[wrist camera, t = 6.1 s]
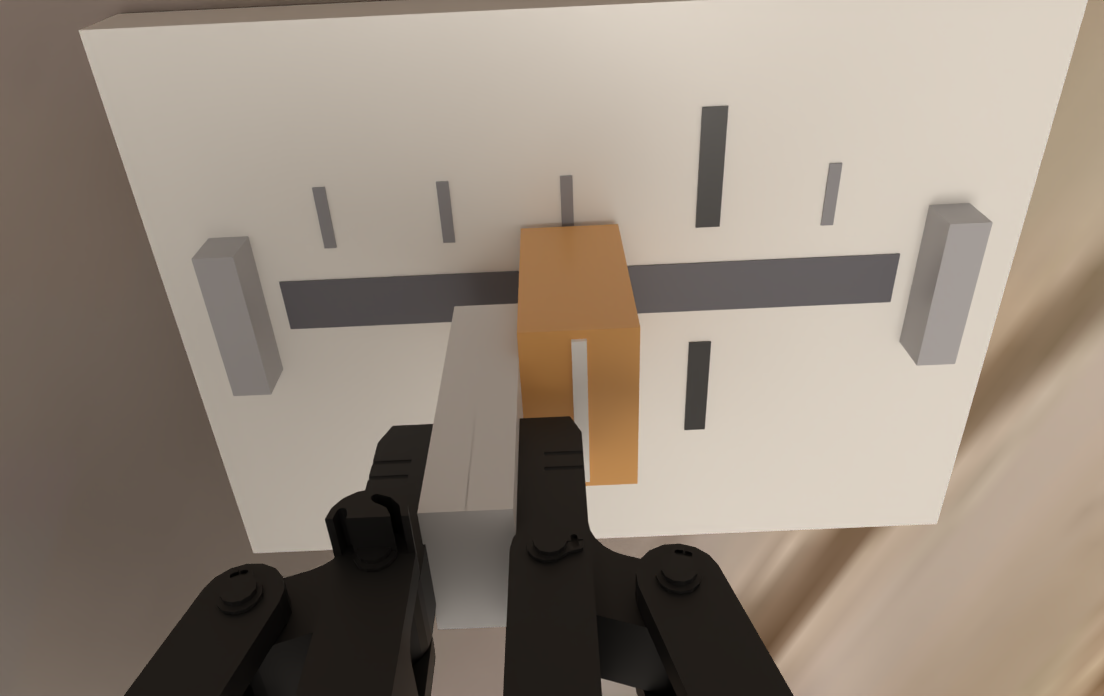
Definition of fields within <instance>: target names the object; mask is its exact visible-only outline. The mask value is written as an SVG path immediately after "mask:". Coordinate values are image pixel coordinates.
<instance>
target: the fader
mask: <svg viewBox="0 0 1104 696" xmlns="http://www.w3.org/2000/svg"><path fill="white" fill-rule="evenodd" d="M517 343H518V356H519V369H520V382H521V394H522V407H523V418H540V417H562V416H570V417H571V418H572V420H573V421H574V422H575V424H576V425H577V426H578V428H579V429H580V430H581V432H582V443H583V457H584V470H585V484H586V486H597V485H620V484H638V432H639V378H640V323H639V318H638V314H637V309H636V305H635V300H634V295H633V291H632V286H631V281H630V277H629V272H628V268H627V263H626V258H625V254H624V249H623V244H622V240H621V235H620V231H619V226H618V224H609V225H588V226H566V227H544V228H523V229H521V235H520V262H519V288H518V314H517Z"/></svg>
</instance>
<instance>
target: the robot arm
mask: <svg viewBox="0 0 1104 696" xmlns="http://www.w3.org/2000/svg"><path fill="white" fill-rule="evenodd" d="M517 314H518V303H517V304H495V305H473V306H454V312H453V317H452V323H451V328H450V334H449V340H448V345H447V351H446V356H445V362H444V367H443V373H442V378H441V384H440V390H439V395H438V401H437V406H436V412H435V417H434V423H433V424H419V425H396V426H392V427H391V428H390V429H389V430H388V432H387V433H386V434H385V435H384V436H383V437H382V438H381V440H380V441H379V442H378V444H377V447H376V451H375V455H374V459H373V465H372V466H371V470H370V474H369V480H368V481H367V485H366V489H365V490H364V491H358V492H356V493H354V494H351V495H349V496H347V497H345V498H343V499H341V500H340V501H339V502H338V503H337V504H335V505H334V506H333V507H332V508H331V509H330V511H329V513H328V514H327V516H326V518H325V522H326V526H327V530H328V534H329V537H330V541H331V545H332V549H333V553H334V556H335V557H334V559H333V560H331V561H330V562H328V563H326V564H324V565H323V566H320V567H318V568H315V569H313V570H310V571H307V572H303V573H300V574H297V575H293V576H290V577H286V578H283V576H282V575H281V574H280V573H279V572H278V571H277V570H276V569H275V568H273V567H270V566H268V565H265V564H245V565H241V566H238V567H235V568H231V569H229V570H227V571H226V572H224V573H222V574H220V575H219V576H217V577H215V578H214V579H213V580H212V581H211V582H210V583H209V584H208V585H207V586H206V587H205V588H204V589H203V590H202V592H201V593H200V594H199V596H198V597H197V598H196V600H195V601H194V602H193V604H192V605H191V606H190V608H189V609H188V610H187V612H186V613H185V614H184V616H183V617H182V618H181V620H180V621H179V622H178V624H177V625H176V626H175V628H174V629H173V630H172V632H171V633H170V634H169V636H168V637H167V638H166V640H165V641H164V642H163V644H162V645H161V647H160V648H159V649H158V651H157V652H156V653H155V655H154V656H153V657H152V659H151V660H150V661H149V663H148V664H147V665H146V667H145V668H144V669H143V671H142V672H141V673H140V675H139V676H138V677H137V679H136V680H135V681H134V683H133V684H132V685H131V687H130V688H129V689H128V691H127V692H126V693H125V695H124V696H431V690H432V681H433V673H434V665H435V649H434V642H433V637H432V633H433V625H434V618H435V615H436V620H437V626H438V630H439V629H463V628H488V627H506V644H505V667H504V690H503V696H602V687H601V678H602V679H605V680H609V681H613V682H616V683H620V684H624V685H627V686H631V687H635V688H636V693H637V696H793V694H792V692H791V690H790V689H789V687H788V685H787V683H786V682H785V680H784V678H783V676H782V675H781V673H780V671H779V670H778V668H777V666H776V664H775V663H774V661H773V659H772V657H771V656H770V654H769V652H768V650H767V649H766V647H765V645H764V643H763V642H762V640H761V638H760V637H759V635H758V633H757V631H756V630H755V628H754V626H753V624H752V623H751V621H750V619H749V617H748V616H747V614H746V612H745V611H744V609H743V607H742V605H741V604H740V602H739V600H738V598H737V597H736V595H735V593H734V591H733V590H732V588H731V586H730V584H729V583H728V581H727V579H726V578H725V576H724V574H723V572H722V571H721V569H720V567H719V566H718V564H717V563H716V562H715V561H714V560H713V559H712V558H711V556H710V555H708V554H707V553H705V552H703V551H701V550H699V549H698V548H696V547H692V546H688V545H683V544H668V545H662V546H659V547H657V548H654V549H652V550H649V551H648V552H647V553H646V554H645V555H644V556H643V557H642V558H641V559H639V558H635V557H630V556H626V555H623V554H619V553H616V552H613V551H612V550H610V549H608V548H606V547H605V546H603V545H602V544H601V543H600V542H599V541H598V540H597V539H595V537H594V535H593V534H592V532H591V530H590V527H589V523H588V511H587V497H586V484H585V470H584V457H583V443H582V432H581V430H580V429H579V428H578V426H577V425H576V424H575V422H574V421H573V420H572V418H571V417H570V416H562V417H540V418H523V407H522V394H521V382H520V369H519V356H518V343H517Z"/></svg>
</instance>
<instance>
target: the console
mask: <svg viewBox="0 0 1104 696" xmlns="http://www.w3.org/2000/svg"><path fill="white" fill-rule="evenodd" d="M1087 1H1088V0H393V1H373V2H352V3H331V4H311V5H290V6H269V7H249V8H228V9H207V10H187V11H166V12H145V13H124V14H117V15H114V16H112V17H110V18H107V19H105V20H102V21H100V22H97V23H95V24H93V25H90V26H88V27H85V28H83V29H80V30H79V33H80V36H81V39H82V42H83V45H84V48H85V51H86V54H87V57H88V60H89V63H90V66H91V69H92V72H93V75H94V78H95V81H96V84H97V87H98V90H99V93H100V96H101V99H102V102H103V105H104V108H105V111H106V114H107V117H108V120H109V123H110V126H111V129H112V132H113V135H114V138H115V141H116V144H117V147H118V150H119V153H120V156H121V159H122V162H123V165H124V168H125V171H126V174H127V177H128V180H129V183H130V186H131V189H132V192H133V195H134V198H135V201H136V204H137V207H138V210H139V213H140V216H141V219H142V222H143V225H144V228H145V230H146V233H147V236H148V239H149V242H150V245H151V248H152V251H153V254H154V257H155V260H156V263H157V266H158V269H159V272H160V275H161V278H162V281H163V284H164V287H165V290H166V293H167V296H168V299H169V302H170V305H171V308H172V311H173V314H174V317H175V320H176V323H177V326H178V329H179V332H180V335H181V338H182V341H183V344H184V347H185V350H186V353H187V356H188V359H189V362H190V365H191V368H192V371H193V374H194V377H195V380H196V383H197V386H198V389H199V392H200V395H201V398H202V401H203V404H204V407H205V410H206V413H207V416H208V419H209V422H210V425H211V428H212V431H213V434H214V437H215V440H216V443H217V446H218V449H219V452H220V455H221V458H222V460H223V463H224V466H225V469H226V472H227V475H228V478H229V481H230V484H231V487H232V490H233V493H234V496H235V499H236V502H237V505H238V508H239V511H240V514H241V517H242V520H243V523H244V526H245V529H246V532H247V535H248V538H249V541H250V544H251V547H252V550H253V553H273V552H296V551H319V550H333V549H332V545H331V541H330V537H329V534H328V530H327V526H326V522H325V518H326V516H327V514H328V513H329V511H330V509H331V508H332V507H333V506H334V505H335V504H337V503H338V502H339V501H340V500H341V499H343V498H345V497H347V496H349V495H351V494H354V493H356V492H358V491H364V490H365V489H366V485H367V481H368V480H369V474H370V470H371V466H372V465H373V459H374V455H375V451H376V447H377V444H378V442H379V441H380V440H381V438H382V437H383V436H384V435H385V434H386V433H387V432H388V430H389V429H390V428H391V427H392V426H396V425H419V424H433V423H434V417H435V412H436V406H437V401H438V395H439V390H440V384H441V378H442V373H443V367H444V362H445V356H446V351H447V345H448V340H449V334H450V328H451V323H452V317H453V312H454V306H473V305H495V304H517V303H518V288H519V262H520V235H521V229H523V228H544V227H566V226H588V225H609V224H618V226H619V231H620V235H621V240H622V244H623V249H624V254H625V258H626V263H627V268H628V272H629V277H630V281H631V286H632V291H633V295H634V300H635V305H636V309H637V314H638V318H639V323H640V378H639V432H638V484H620V485H597V486H586V497H587V511H588V523H589V527H590V530H591V532H592V534H593V535H594V537H595V539H598V538H621V537H644V536H667V535H691V534H714V533H737V532H760V531H783V530H807V529H830V528H853V527H876V526H899V525H923V524H937V522H938V518H939V515H940V511H941V508H942V504H943V501H944V497H945V494H946V490H947V487H948V483H949V480H950V477H951V473H952V470H953V466H954V463H955V459H956V456H957V452H958V449H959V445H960V442H961V438H962V435H963V431H964V428H965V425H966V421H967V418H968V414H969V411H970V407H971V404H972V400H973V397H974V393H975V390H976V386H977V383H978V379H979V376H980V372H981V369H982V366H983V362H984V359H985V355H986V352H987V348H988V345H989V341H990V338H991V334H992V331H993V327H994V324H995V320H996V317H997V314H998V310H999V307H1000V303H1001V300H1002V296H1003V293H1004V289H1005V286H1006V282H1007V279H1008V275H1009V272H1010V268H1011V265H1012V262H1013V258H1014V255H1015V251H1016V248H1017V244H1018V241H1019V237H1020V234H1021V230H1022V227H1023V223H1024V220H1025V216H1026V213H1027V209H1028V206H1029V203H1030V199H1031V196H1032V192H1033V189H1034V185H1035V182H1036V178H1037V175H1038V171H1039V168H1040V164H1041V161H1042V157H1043V154H1044V151H1045V147H1046V144H1047V140H1048V137H1049V133H1050V130H1051V126H1052V123H1053V119H1054V116H1055V112H1056V109H1057V105H1058V102H1059V98H1060V95H1061V92H1062V88H1063V85H1064V81H1065V78H1066V74H1067V71H1068V67H1069V64H1070V60H1071V57H1072V53H1073V50H1074V46H1075V43H1076V40H1077V36H1078V33H1079V29H1080V26H1081V22H1082V19H1083V15H1084V12H1085V8H1086V5H1087Z"/></svg>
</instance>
